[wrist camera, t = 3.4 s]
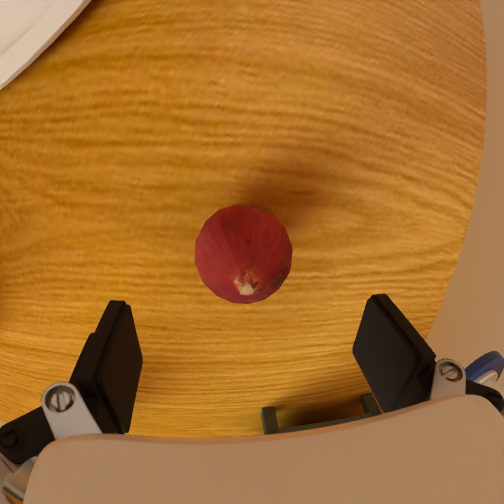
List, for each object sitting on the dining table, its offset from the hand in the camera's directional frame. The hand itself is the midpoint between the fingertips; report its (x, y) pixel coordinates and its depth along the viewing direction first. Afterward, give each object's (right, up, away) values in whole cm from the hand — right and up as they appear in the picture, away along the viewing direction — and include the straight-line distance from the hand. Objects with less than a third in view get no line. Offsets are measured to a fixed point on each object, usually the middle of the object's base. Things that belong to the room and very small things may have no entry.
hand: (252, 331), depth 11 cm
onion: (-1, +4, +10) cm, 11 cm away
